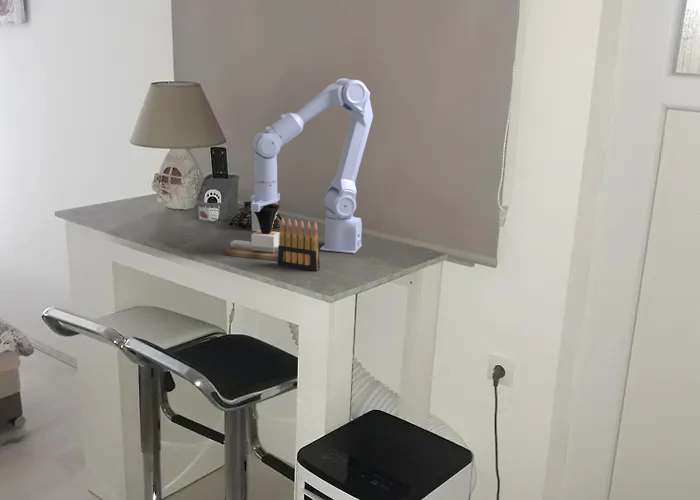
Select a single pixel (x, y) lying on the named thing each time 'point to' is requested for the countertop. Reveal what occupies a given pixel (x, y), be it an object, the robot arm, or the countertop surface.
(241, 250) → the board
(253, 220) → the small box
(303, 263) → the ammunition clip
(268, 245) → the block
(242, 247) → the rail
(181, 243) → the countertop surface
